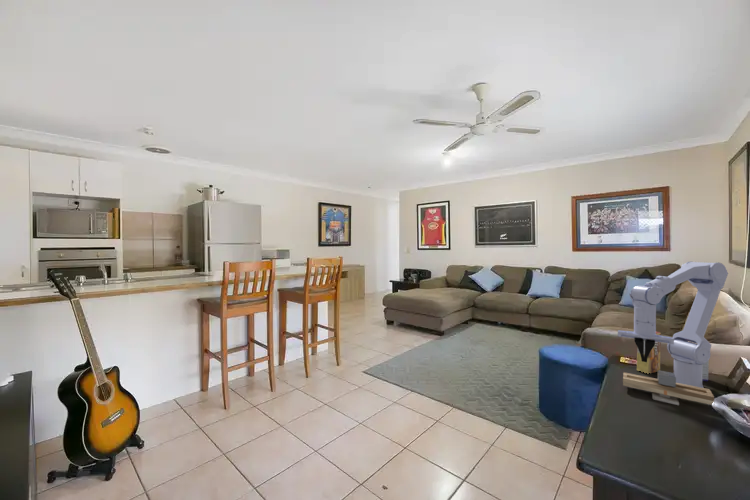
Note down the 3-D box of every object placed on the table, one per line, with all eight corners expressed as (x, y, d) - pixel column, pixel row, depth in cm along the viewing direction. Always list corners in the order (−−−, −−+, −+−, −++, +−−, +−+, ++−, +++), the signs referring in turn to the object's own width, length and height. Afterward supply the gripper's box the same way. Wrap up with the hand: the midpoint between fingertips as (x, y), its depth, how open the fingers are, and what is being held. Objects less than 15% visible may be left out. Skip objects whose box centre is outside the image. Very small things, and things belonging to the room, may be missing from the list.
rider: (657, 382, 105) (657, 370, 105) (673, 385, 103) (674, 373, 103) (658, 387, 101) (658, 374, 102) (675, 390, 99) (675, 377, 99)
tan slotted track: (623, 383, 113) (623, 371, 113) (708, 402, 99) (708, 388, 99) (622, 392, 106) (623, 379, 106) (714, 413, 92) (714, 398, 92)
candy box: (647, 367, 129) (648, 329, 129) (660, 371, 125) (661, 332, 125) (636, 370, 125) (636, 331, 125) (649, 374, 122) (649, 334, 122)
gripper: (617, 320, 110) (617, 359, 110) (675, 326, 101) (674, 369, 101) (618, 316, 116) (617, 354, 116) (672, 323, 107) (672, 363, 107)
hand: (644, 361), depth 109 cm, fingers closed
